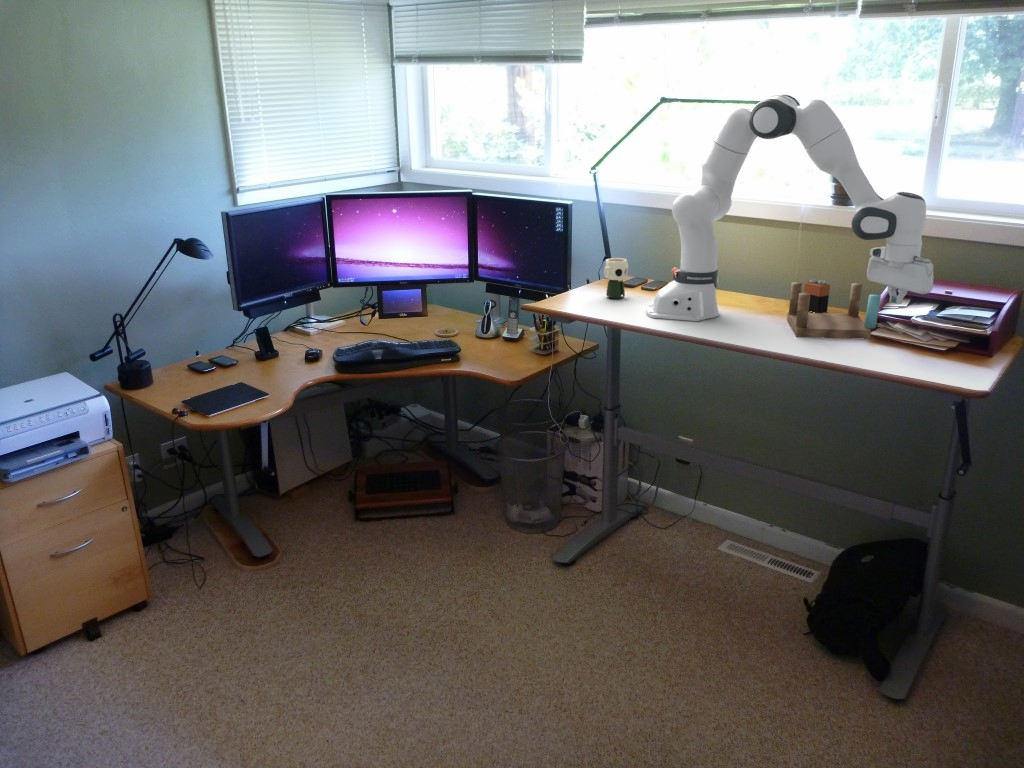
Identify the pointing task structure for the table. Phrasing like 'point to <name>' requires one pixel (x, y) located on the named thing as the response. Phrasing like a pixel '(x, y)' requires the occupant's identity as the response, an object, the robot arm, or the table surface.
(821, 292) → the battery
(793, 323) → the stool
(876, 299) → the folding leg
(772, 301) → the table surface
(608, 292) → the character mug
